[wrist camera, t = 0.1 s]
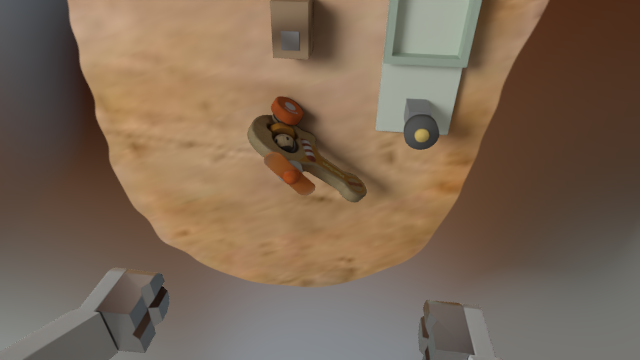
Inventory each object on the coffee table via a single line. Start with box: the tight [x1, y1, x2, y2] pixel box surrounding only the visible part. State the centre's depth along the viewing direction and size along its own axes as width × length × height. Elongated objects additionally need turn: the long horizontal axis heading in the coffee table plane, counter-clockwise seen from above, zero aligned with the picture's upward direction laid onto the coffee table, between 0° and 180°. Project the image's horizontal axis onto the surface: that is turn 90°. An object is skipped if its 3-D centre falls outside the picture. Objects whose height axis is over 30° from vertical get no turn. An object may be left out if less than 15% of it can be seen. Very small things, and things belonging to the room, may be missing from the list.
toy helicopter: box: [248, 97, 366, 202], centre depth 57 cm, size 8×21×14 cm, turn 56°
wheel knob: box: [404, 114, 439, 150], centre depth 51 cm, size 4×4×5 cm
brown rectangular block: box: [270, 0, 313, 59], centre depth 51 cm, size 7×5×5 cm
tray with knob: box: [376, 0, 482, 135], centre depth 50 cm, size 26×11×6 cm, turn 179°
